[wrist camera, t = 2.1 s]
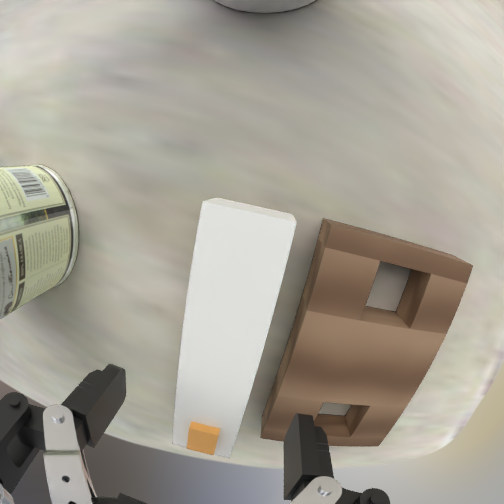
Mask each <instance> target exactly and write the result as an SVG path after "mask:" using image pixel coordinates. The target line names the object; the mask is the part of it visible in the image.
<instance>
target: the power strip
mask: <svg viewBox="0 0 504 504" xmlns="http://www.w3.org/2000/svg"><path fill="white" fill-rule="evenodd" d="M296 223H297V222H296V220H295V218H294V216H293V215H292V214H289V213H285V212H281V211H276V210H272V209H268V208H263V207H259V206H254V205H250V204H245V203H240V202H236V201H231V200H226V199H221V198H213V199H210V200H206V201H203V202H202V207H201V212H200V218H199V223H198V229H197V235H196V241H195V247H194V253H193V259H192V265H191V272H190V279H189V285H188V292H187V299H186V307H185V314H184V322H183V330H182V339H181V347H180V357H179V366H178V376H177V387H176V399H175V411H174V425H173V442H172V444H175V445H178V446H182V447H185V448H187V449H191V450H194V451H198V452H202V453H206V454H210V455H218V456H222V457H227V458H230V455H231V452H232V449H233V446H234V443H235V440H236V437H237V434H238V431H239V428H240V425H241V422H242V418H243V415H244V412H245V409H246V406H247V402H248V399H249V396H250V392H251V389H252V386H253V383H254V379H255V376H256V372H257V369H258V366H259V362H260V359H261V355H262V352H263V348H264V345H265V341H266V338H267V334H268V331H269V327H270V324H271V320H272V316H273V313H274V309H275V305H276V302H277V298H278V294H279V290H280V287H281V283H282V279H283V275H284V271H285V267H286V264H287V260H288V256H289V252H290V248H291V244H292V240H293V236H294V232H295V227H296Z"/></svg>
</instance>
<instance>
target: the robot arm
mask: <svg viewBox="0 0 504 504" xmlns="http://www.w3.org/2000/svg"><path fill="white" fill-rule="evenodd" d="M214 1H216V2H218V3H220V4H222V5H224V6H227V7H230V8H233V9H236V10H242V11H247V12H259V13H271V12H283V11H288V10H293V9H297V8H300V7H303V6H306V5H308V4H310V3H312V2H313V1H315V0H214ZM125 396H126V377H125V369H123V368H120V367H118V366H115V365H112V364H109V365H107V367H106V368H105V369H104V370H103V371H100V370H96V371H93V372H91V373H89V374H88V375H87V376H86V377H85V378H84V380H83V381H82V382H81V383H80V384H79V386H77V387H76V388H75V390H74V391H73V392H72V393H71V394H70V395H69V396H68V397H67V399H66V400H65V401H64V402H63V403H62V404H61V405H51V406H49V407H47V408H46V409H44V408H40V407H37V406H33V405H30V404H29V403H28V400H27V398H26V397H25V396H24V395H23V394H20V393H17V392H12V393H9V394H7V395H5V396H4V397H3V398H2V399H1V400H0V504H14V501H13V498H12V496H11V493H12V492H13V490H14V489H15V487H16V485H17V484H18V482H19V481H20V479H21V478H22V476H23V474H24V473H25V471H26V470H27V468H28V467H29V465H30V464H31V462H32V461H33V459H34V457H35V456H36V455H37V453H38V452H39V450H40V449H42V450H45V451H46V452H44V463H45V470H46V476H47V481H48V486H49V492H50V496H51V501H52V504H146V503H145V502H141V501H139V500H136V499H134V498H131V497H129V496H126V495H123V494H121V493H120V494H119V496H118V498H116V497H97V496H96V493H95V490H94V487H93V485H92V482H91V478H90V475H89V471H88V468H87V464H86V460H85V456H84V451H83V449H84V447H85V446H86V444H87V445H89V446H91V447H93V448H94V447H95V446H96V444H97V442H98V441H99V439H100V438H101V436H102V435H103V433H104V432H105V430H106V428H107V427H108V425H109V424H110V422H111V421H112V419H113V418H114V416H115V415H116V413H117V412H118V410H119V408H120V407H121V405H122V404H123V402H124V400H125ZM284 500H291V503H290V504H390V501H389V497H388V496H387V494H386V493H385V492H384V491H382V490H380V489H375V488H372V489H368V490H366V491H364V492H363V493H358V492H354V491H350V490H346V489H344V488H342V487H341V485H340V483H339V482H338V481H337V480H335V479H334V476H333V470H332V464H331V458H330V452H329V445H328V439H327V435H326V433H325V432H324V430H323V429H322V427H319V426H314V420H313V416H312V415H307V414H299V413H296V414H295V416H294V418H293V420H292V422H291V424H290V426H289V429H288V431H287V433H286V435H285V439H284Z"/></svg>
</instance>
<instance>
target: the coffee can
mask: <svg viewBox="0 0 504 504" xmlns="http://www.w3.org/2000/svg"><path fill="white" fill-rule="evenodd" d="M78 242H79V238H78V220H77V214H76V210H75V206H74V203H73V200H72V197H71V194H70V192H69V190H68V188H67V187H66V185H65V183H64V182H63V180H62V179H61V178H60V177H59V175H58V174H57V173H56V172H54V171H53V170H52V169H50V168H48V167H46V166H43V165H40V164H35V165H29V166H10V167H0V319H1V318H3V317H5V316H6V315H8V314H9V313H11V312H12V311H14V310H16V309H17V308H19V307H20V306H22V305H24V304H25V303H27V302H29V301H30V300H32V299H34V298H35V297H37V296H39V295H40V294H42V293H44V292H45V291H47V290H49V289H51V288H53V287H56V286H58V285H60V284H61V283H63V282H64V281H65V280H66V278H67V277H68V276H69V274H70V273H71V271H72V268H73V266H74V263H75V260H76V256H77V251H78Z"/></svg>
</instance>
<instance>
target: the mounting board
mask: <svg viewBox="0 0 504 504" xmlns="http://www.w3.org/2000/svg"><path fill="white" fill-rule="evenodd" d="M380 261H383V262H387V263H391V264H395V265H399V266H402V267H406V268H410V269H411V272H410V275H409V278H408V281H407V284H406V287H405V290H404V292H403V295H402V298H401V301H400V303H399V306H398V308H397V311H396V312H393V311H388V310H383V309H377V308H372V307H367V306H365V305H366V302H367V300H368V297H369V294H370V291H371V288H372V285H373V282H374V279H375V276H376V273H377V270H378V267H379V264H380ZM472 267H473V265H471V264H469V263H467V262H465V261H463V260H461V259H459V258H457V257H455V256H453V255H450V254H447V253H444V252H441V251H438V250H434V249H431V248H428V247H425V246H421V245H418V244H415V243H411V242H408V241H405V240H401V239H398V238H394V237H391V236H387V235H384V234H380V233H377V232H373V231H369V230H366V229H362V228H358V227H354V226H351V225H347V224H343V223H339V222H335V221H331V220H328V219H324V218H323V221H322V225H321V229H320V233H319V237H318V241H317V245H316V248H315V252H314V256H313V259H312V263H311V267H310V270H309V274H308V277H307V281H306V284H305V288H304V291H303V295H302V298H301V301H300V305H299V308H298V311H297V315H296V318H295V321H294V324H293V328H292V331H291V334H290V337H289V340H288V343H287V346H286V349H285V352H284V355H283V358H282V361H281V364H280V367H279V370H278V373H277V376H276V379H275V382H274V385H273V388H272V390H271V393H270V396H269V399H268V402H267V404H266V407H265V410H264V412H263V415H262V425H261V438H263V439H270V440H277V441H284V439H285V435H286V433H287V431H288V429H289V426H290V424H291V422H292V420H293V418H294V416H295V414H296V413H299V414H307V415H312V416H313V420H314V426H319V427H322V429H323V430H324V432H325V433H326V435H327V439H328V445H330V446H379V445H380V443H381V442H382V441H383V439H384V438H385V437H386V435H387V434H388V433H389V431H390V430H391V428H392V427H393V426H394V424H395V423H396V421H397V420H398V418H399V417H400V415H401V414H402V412H403V411H404V409H405V408H406V406H407V405H408V403H409V402H410V400H411V398H412V397H413V395H414V394H415V392H416V390H417V389H418V387H419V385H420V384H421V382H422V380H423V378H424V377H425V375H426V373H427V371H428V369H429V368H430V366H431V364H432V362H433V360H434V358H435V356H436V354H437V352H438V350H439V348H440V346H441V344H442V342H443V340H444V338H445V336H446V334H447V331H448V329H449V327H450V325H451V323H452V320H453V318H454V316H455V313H456V311H457V308H458V306H459V303H460V301H461V298H462V296H463V293H464V290H465V288H466V285H467V282H468V279H469V276H470V273H471V270H472ZM324 402H329V403H339V404H350V405H351V407H350V409H349V411H348V412H347V414H346V416H337V415H326V414H318V412H319V411H320V409H321V407H322V405H323V403H324Z"/></svg>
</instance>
